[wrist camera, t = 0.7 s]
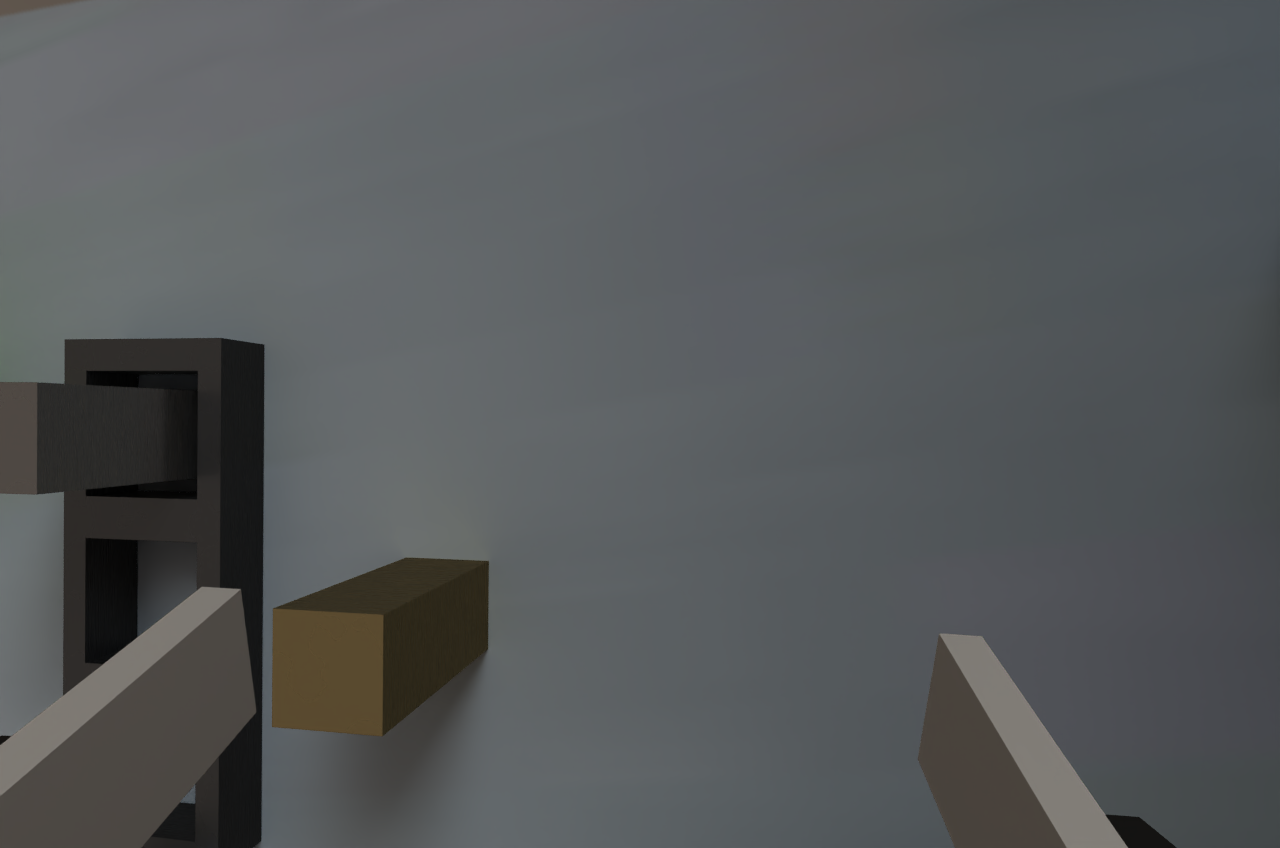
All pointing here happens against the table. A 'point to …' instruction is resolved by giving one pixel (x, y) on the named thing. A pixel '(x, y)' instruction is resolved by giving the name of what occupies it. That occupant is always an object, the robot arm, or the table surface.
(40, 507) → the table surface
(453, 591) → the brass peg
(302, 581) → the table surface
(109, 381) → the dark grey frame bar
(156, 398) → the zinc peg
